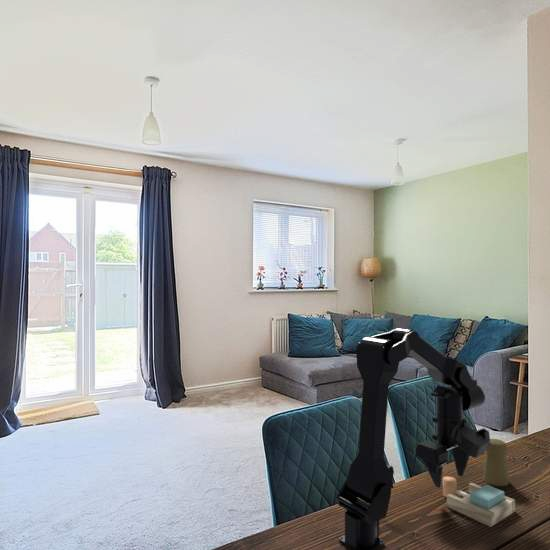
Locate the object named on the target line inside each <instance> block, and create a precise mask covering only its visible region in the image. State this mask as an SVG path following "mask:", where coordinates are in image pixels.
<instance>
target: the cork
mask: <svg viewBox="0 0 550 550" xmlns="http://www.w3.org/2000/svg"><path fill="white" fill-rule="evenodd" d="M490 443H491V445H490V446H488V447H487V448H486V450H485V452H486V454H485V462H484V463H485V464H484V470H483V476H482V480H483V481H484V482H486V483H487V484H490V485H492V486H495V487H506V486H508V485H509V484H510V482H509V474H508V467H507V462H506V461H507V460H506V455H507V454H508V446H507V444H506V442H505V441H504V440H501V439H497V438H490Z"/></svg>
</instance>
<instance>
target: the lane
mask: <svg viewBox="0 0 550 550" xmlns="http://www.w3.org/2000/svg"><path fill="white" fill-rule="evenodd" d="M481 487H482V486H481V485H478V484H476V483H474V482H470V483H468V494H469V495H470V493H472V492H474V491H476V490H477V489H479V488H481ZM446 507H447V508H449V509H451V510H453V511H455V512H458V513H460V514H462V515H464V516H466V517H469V518H471V519H472V520H475V521H477V522H479V523H481V524H484V525H485V526H488V527H491V528H492V527H493V526H494V525H496V524H498V523H499V522H501V521H503V520H504V519H506V518H507V517H508V516H510V515H512V514H514V513H515V512H516V499H514V498H511V497H510V496H506V495H504V501H503V502H501V503H499V504H498V505H496V506H494V507H493V508H491V509H489V510H487V509H484V508H482V507H480V506H477V505H475V504H473V503H471V502H470V499H468V498H466V497H463V496H462V498H461V497H458V496H454V495H452V494H448V495H447V498H446Z"/></svg>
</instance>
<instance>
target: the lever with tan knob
mask: <svg viewBox="0 0 550 550" xmlns="http://www.w3.org/2000/svg"><path fill="white" fill-rule="evenodd" d="M448 494H452V495H454V496H457V495H459V496H462V498H463V497H466V498H468V499H470V502H471V503H473V504H475V505H477V506H480V507H482V508H484V509H487V510H489V509H491V508H493V507H494V506H496V505H498V504H499V503H501V502H503V501H504V496H505V491H504V490H501V489H498V488H495V487H493V486H491V485H488V484H485V485H483V486H481V488H479V489H477V490H476V491H474V492H472V493H470V495H469V493H468V492H465V491H462V490H460V489H457V478H455V477H452V476H442V496H443V497H445V499H447V495H448ZM457 497H458V496H457Z"/></svg>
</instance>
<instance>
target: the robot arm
mask: <svg viewBox="0 0 550 550" xmlns="http://www.w3.org/2000/svg"><path fill="white" fill-rule="evenodd" d="M355 350H356V352H355V354H356V366H357V369H358V372H359V375H360V378H361V379H362V398H361V409H360V411H361V412H360V423H359V425H360V426H359V436H358V437H359V440H358V452H357V454H356V455H355V457H354V458H353V460H352V462H351V463H350V464H349V469H348V474H347V478H346V479H345V481H344V482H343V484H342V486H341V488H340V489H339V491H338V493H337V494H336V497H335V498H336V501H337V505H338V507H341V508H343V509H344V510H346V511H344V534H343V535H341V536H339V537H338V540H339V541H338V542H341V543H342V544H343V545H345V546H346V547H348V548H350V549H351V550H378V549H380V548H381V547H383V546H385V545H386V543H385V540H383V538H380V521H381V520H382V519H384V518H386V517H387V513H388V509H389V505H390V499H391V495H392V489H394V484H393V483H394V480H393V479H394V474H395V470H394V467H393V466H392V465H391V464H387V462H386V460H385V442H386V429H387V415H388V399H389V386H390V383H391V382H392V381H393V379H394V378H395V376H396V375H397V373H398V371H399V364H400V362H402V361H404V360H406V359H407V358H409V356H410V357H411V358H412V359H413V360H415V361H417V362H418V363H419V364H420V365H422V366H423V367H425V368H426V370H427V375H428V376H429V377H430V378H431V379H432V381H433V382H435V383H437V384H441V385H443V386H441V385H436V387H435V388H434V389H433V390H432V391H431V392H430V396H431V397H435V398H436V399H435V403H436V404H435V405H436V406H435V407H436V409H435V413H436V415H435V416H432V421H431V422H433V423H436V427H435V428H436V430H435V432H436V433H433V434H432V440H435V441H437V443H436V442H433V441H430V440H424V441H421V442H418V443H417V444H415V445H414V456H415V457H417V458H418V459H419V460H422V462H423V464H424V466H425V467H426V469H427V472H428V473H429V476H430V478H431V480H432V483H433V484H434V486H435V487H437V488H441V485H442V479H443V476H442V475H443V474H442V473H443V467H444V466H445V465H446V464H447V463H448V462H449V461H448V460H447V459H448V455H449V454H448V453H449V452H448V451H450V450H451V451H452V455H453V461H454V465H455V469H456V472H457V475H458V476H460V477H463V476H464V474H465V471H466V468H467V466H468V462H469V459H470V457H472V458H479V456H482V455H485V452H486V451H485V450H486V448H487V447H488V446H490V445H491V443H490V439H491V437H490V431H489V430H487V429H486V428H480V429H478V430H476V429H471V428H470V427H469V424H468V421H467V419H466V418H463V413H464V411H468V410H472V409H475V408H478V407H481V406H482V405H483V404H484V403H485V399H486V396H485V393H484V391H483V389H482V387H480V386H479V384H478V380H477V379H473V378H472V376H471V374H470V372H469V369H468V367H467V365H466V363H464V362H462V361H460V360H458V359H455V358H453V357H448V356H447V355H444V354H443V353H441V352H440V351H439V350H437V348H435V347H434V346H433V345H432V344H430V343H429V342H428V341H426V340H425V339H424V338H422V337H421V336H420V335H419V333H418V332H417V331H415V330H414V329H408V328H398V327H397V328H395V329H391V330H390V331H387V332H383V333H380V334H379V333H378V334H376V335H375V334H374V335H373V336H364V337H363V338H362V339H360V341H359V342H358V343H357V345H356V349H355Z"/></svg>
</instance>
